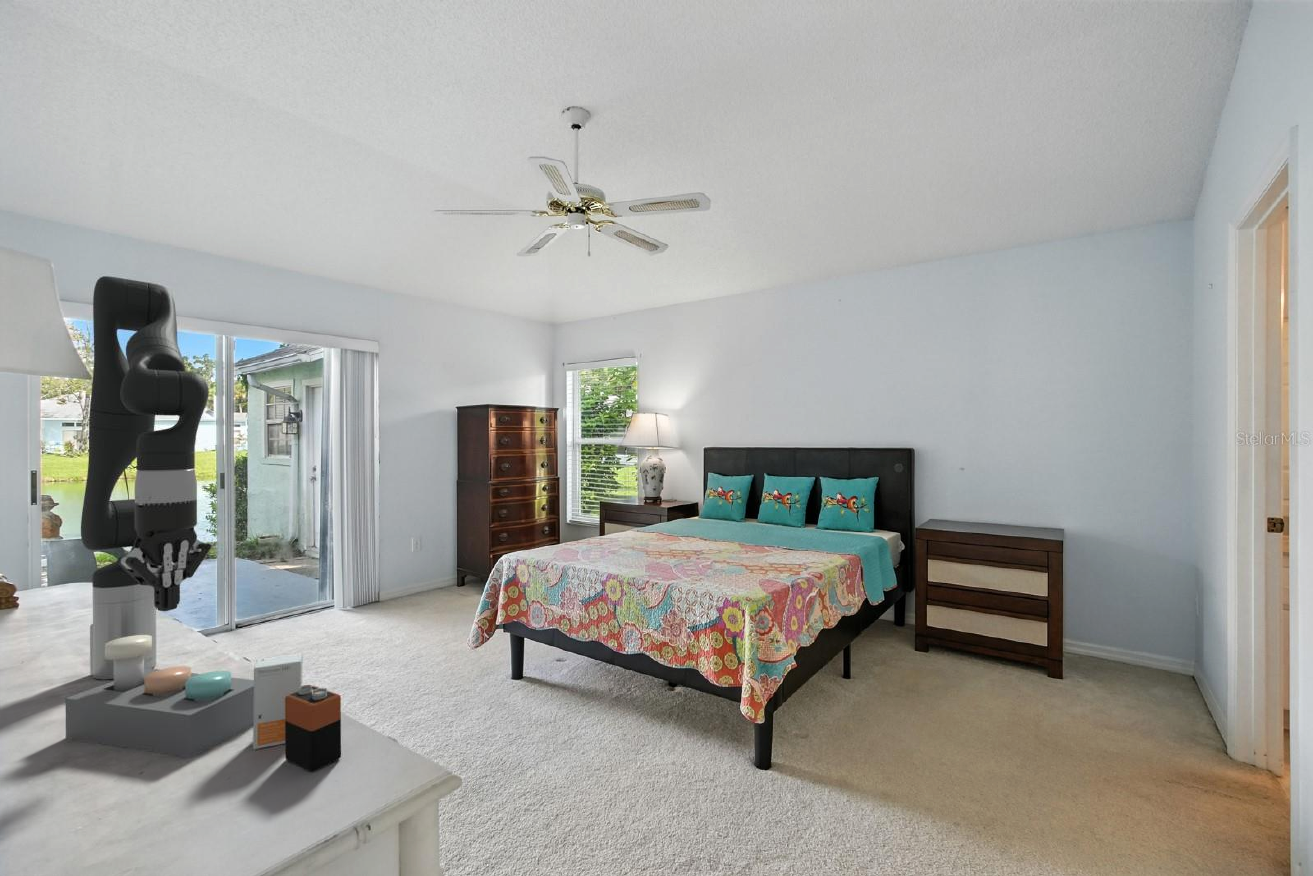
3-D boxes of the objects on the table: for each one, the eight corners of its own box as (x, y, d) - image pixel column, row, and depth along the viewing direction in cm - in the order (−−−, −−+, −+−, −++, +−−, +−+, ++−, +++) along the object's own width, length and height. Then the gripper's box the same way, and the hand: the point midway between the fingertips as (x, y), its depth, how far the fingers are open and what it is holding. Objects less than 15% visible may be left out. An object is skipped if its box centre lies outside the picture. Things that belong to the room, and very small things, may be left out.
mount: (65, 738, 90) (65, 698, 90) (150, 703, 102) (149, 668, 102) (190, 757, 85) (190, 715, 85) (264, 718, 96) (264, 681, 96)
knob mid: (135, 727, 91) (134, 678, 91) (172, 711, 97) (172, 665, 97) (163, 732, 90) (163, 682, 90) (200, 715, 95) (199, 668, 95)
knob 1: (95, 693, 93) (95, 645, 93) (134, 679, 99) (134, 633, 99) (123, 697, 92) (122, 648, 92) (161, 682, 97) (160, 636, 97)
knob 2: (176, 733, 89) (175, 683, 89) (212, 716, 95) (211, 669, 95) (205, 738, 88) (205, 687, 88) (240, 720, 94) (240, 672, 94)
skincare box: (252, 751, 86) (252, 668, 86) (256, 738, 90) (256, 658, 90) (301, 741, 89) (301, 660, 89) (303, 729, 93) (303, 651, 93)
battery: (311, 774, 80) (311, 699, 80) (283, 760, 84) (283, 689, 84) (342, 759, 84) (342, 687, 84) (314, 746, 88) (314, 678, 88)
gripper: (190, 493, 101) (190, 597, 101) (100, 502, 88) (100, 620, 88) (225, 495, 99) (226, 600, 99) (139, 504, 86) (139, 624, 86)
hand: (167, 609), depth 93 cm, fingers closed
